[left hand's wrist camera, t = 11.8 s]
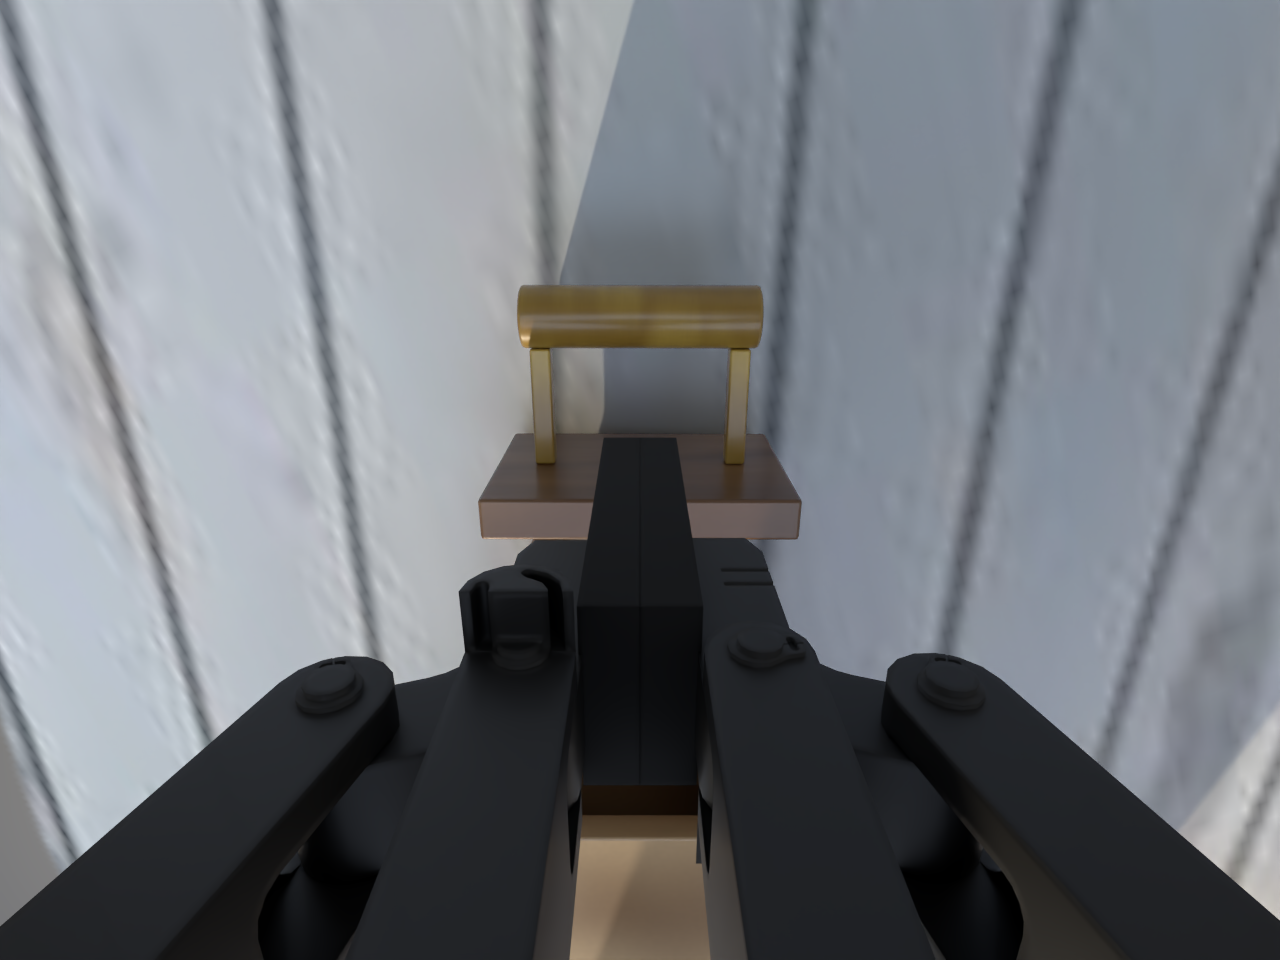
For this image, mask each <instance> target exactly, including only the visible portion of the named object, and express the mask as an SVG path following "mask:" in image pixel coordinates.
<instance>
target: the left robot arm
mask: <svg viewBox="0 0 1280 960" xmlns="http://www.w3.org/2000/svg"><path fill="white" fill-rule="evenodd" d="M459 599H460V608H461V617H462V627H463V636H464V645H465V654H464V656H463V659H462V661H461V664H460V667H458V668H456V669H454V670H451V671H449V672H447V673H444V674H441V675H437V676H433V677H430V678H426V679H421V680H416V681H411V682H406V683H401V684H397V685H395V684H394V678H393V672H392V671H391V670H390V669H389V668H388V667H387V666H386V665H385V664H384V663H383V662H381V661H378V660H375V659H372V658H369V657H355V656H344V657H337V658H334V659H332V658H331V659H327V660H323V661H320V662H317V663H315V664H312V665H310V666H307V667H305V668H302V669H300V670H298V671H296V672H295V673H293V674H292V675H290V676H289V677H287V678H286V679H284V680H283V681H281V682H280V683H279V684H278V685H276V686H275V687H274V688H273V689H272V690H271V691H270V692H268V693H267V694H266V695H265V696H264V697H263V698H262V699H260V700H259V701H258V702H257V703H256V704H255V705H253V706H252V707H251V708H250V709H249V710H248V711H247V712H245V713H244V714H243V715H242V716H241V717H240V718H239V719H237V720H236V721H235V722H234V723H233V724H232V725H231V726H229V727H228V728H227V729H226V730H225V731H224V732H223V733H221V734H220V735H219V736H218V737H217V738H216V739H215V740H213V741H212V742H211V743H210V744H209V745H208V746H207V747H205V748H204V749H203V750H202V751H201V752H200V753H198V754H197V755H196V756H195V757H194V758H193V759H192V760H190V761H189V762H188V763H187V764H186V765H185V766H184V767H182V768H181V769H180V770H179V771H178V772H177V773H176V774H174V775H173V776H172V777H171V778H170V779H169V780H168V781H166V782H165V783H164V784H163V785H162V786H161V787H160V788H158V789H157V790H156V791H155V792H154V793H153V794H152V795H150V796H149V797H148V798H147V799H146V800H145V801H143V802H142V803H141V804H140V805H139V806H138V807H137V808H135V809H134V810H133V811H132V812H131V813H130V814H129V815H127V816H126V817H125V818H124V819H123V820H122V821H121V822H119V823H118V824H117V825H116V826H115V827H114V828H113V829H111V830H110V831H109V832H108V833H107V834H106V835H105V836H103V837H102V838H101V839H100V840H99V841H98V842H97V843H95V844H94V845H93V846H92V847H91V848H90V849H88V850H87V851H86V852H85V853H84V854H83V855H82V856H80V857H79V858H78V859H77V860H76V861H75V862H74V863H72V864H71V865H70V866H69V867H68V868H67V869H66V870H64V871H63V872H62V873H61V874H60V875H59V876H58V877H56V878H55V879H54V880H53V881H52V882H51V883H50V884H48V885H47V886H46V887H45V888H44V889H43V890H42V891H40V892H39V893H38V894H37V895H36V896H35V897H34V898H32V899H31V900H30V901H29V902H28V903H27V904H26V905H24V906H23V907H22V908H21V909H20V910H19V911H17V912H16V913H15V914H14V915H13V916H12V917H11V918H9V919H8V920H7V921H6V922H5V923H4V924H3V925H1V926H0V960H570V949H571V938H572V927H573V916H574V905H575V894H576V883H577V872H578V861H579V850H580V839H581V828H582V797H581V784H582V775H583V785H697V771H698V781H699V797H698V822H697V847H696V864H702V871H703V882H704V893H705V904H706V915H707V926H708V937H709V948H710V959H711V960H1280V920H1278V919H1277V918H1276V917H1275V916H1274V915H1273V914H1272V913H1270V912H1269V911H1268V910H1267V909H1266V908H1265V907H1263V906H1262V905H1261V904H1260V903H1259V902H1258V901H1257V900H1255V899H1254V898H1253V897H1252V896H1251V895H1250V894H1248V893H1247V892H1246V891H1245V890H1244V889H1243V888H1242V887H1240V886H1239V885H1238V884H1237V883H1236V882H1235V881H1233V880H1232V879H1231V878H1230V877H1229V876H1228V875H1226V874H1225V873H1224V872H1223V871H1222V870H1221V869H1220V868H1218V867H1217V866H1216V865H1215V864H1214V863H1213V862H1211V861H1210V860H1209V859H1208V858H1207V857H1206V856H1205V855H1203V854H1202V853H1201V852H1200V851H1199V850H1198V849H1196V848H1195V847H1194V846H1193V845H1192V844H1191V843H1190V842H1188V841H1187V840H1186V839H1185V838H1184V837H1183V836H1181V835H1180V834H1179V833H1178V832H1177V831H1176V830H1174V829H1173V828H1172V827H1171V826H1170V825H1169V824H1168V823H1166V822H1165V821H1164V820H1163V819H1162V818H1161V817H1159V816H1158V815H1157V814H1156V813H1155V812H1154V811H1153V810H1151V809H1150V808H1149V807H1148V806H1147V805H1146V804H1144V803H1143V802H1142V801H1141V800H1140V799H1139V798H1138V797H1136V796H1135V795H1134V794H1133V793H1132V792H1131V791H1129V790H1128V789H1127V788H1126V787H1125V786H1124V785H1122V784H1121V783H1120V782H1119V781H1118V780H1117V779H1116V778H1114V777H1113V776H1112V775H1111V774H1110V773H1109V772H1107V771H1106V770H1105V769H1104V768H1103V767H1102V766H1101V765H1099V764H1098V763H1097V762H1096V761H1095V760H1094V759H1092V758H1091V757H1090V756H1089V755H1088V754H1087V753H1086V752H1084V751H1083V750H1082V749H1081V748H1080V747H1079V746H1077V745H1076V744H1075V743H1074V742H1073V741H1072V740H1071V739H1069V738H1068V737H1067V736H1066V735H1065V734H1064V733H1062V732H1061V731H1060V730H1059V729H1058V728H1057V727H1055V726H1054V725H1053V724H1052V723H1051V722H1050V721H1049V720H1047V719H1046V718H1045V717H1044V716H1043V715H1042V714H1040V713H1039V712H1038V711H1037V710H1036V709H1035V708H1034V707H1032V706H1031V705H1030V704H1029V703H1028V702H1027V701H1025V700H1024V699H1023V698H1022V697H1021V696H1020V695H1019V694H1017V693H1016V692H1015V691H1014V690H1013V689H1012V688H1010V687H1009V686H1008V685H1007V684H1006V683H1005V682H1003V681H1002V680H1001V679H1000V678H998V677H997V676H995V675H994V674H992V673H991V672H989V671H988V670H986V669H985V668H983V667H981V666H979V665H976V664H974V663H971V662H969V661H966V660H964V659H961V658H959V657H955V656H951V655H945V654H937V653H920V654H911V655H908V656H905V657H902V658H899V659H897V660H896V661H895V662H894V663H893V664H892V665H891V666H890V667H889V668H888V671H887V678H886V682H884V681H879V680H874V679H869V678H864V677H859V676H854V675H850V674H847V673H843V672H839V671H836V670H833V669H831V668H829V667H826V666H824V665H822V664H820V663H819V660H818V658H817V655H816V653H815V651H814V649H813V648H812V647H811V645H810V644H809V642H808V641H807V640H806V639H805V638H804V637H802V636H801V635H799V634H797V633H796V632H794V631H793V630H791V629H790V628H789V626H788V623H787V620H786V617H785V614H784V612H783V609H782V606H781V603H780V600H779V598H778V595H777V592H776V589H775V586H773V581H772V578H771V575H770V573H769V572H768V567H767V564H766V561H765V559H764V556H763V553H762V551H760V550H759V549H758V548H757V547H755V546H754V545H753V544H752V543H750V542H749V541H748V540H747V539H746V538H692V532H691V526H690V520H689V514H688V507H687V501H686V495H685V489H684V482H683V476H682V470H681V464H680V457H679V451H678V445H677V439H676V438H604V439H603V445H602V451H601V457H600V464H599V470H598V476H597V482H596V489H595V495H594V501H593V507H592V514H591V520H590V526H589V532H588V538H587V540H535V541H534V542H532V543H531V544H530V545H529V546H528V547H526V548H525V549H524V550H523V551H521V552H520V553H519V554H518V556H517V559H516V561H515V564H514V565H512V566H503V567H499V568H496V569H492V570H489V571H485V572H483V573H481V574H479V575H477V576H476V577H474V578H472V579H470V580H468V581H467V583H466V584H465V585H464V586H463V587H462V588H461V590H460V591H459Z"/></svg>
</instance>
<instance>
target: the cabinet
mask: <svg viewBox="0 0 1280 960" xmlns="http://www.w3.org/2000/svg"><path fill="white" fill-rule="evenodd" d="M697 822H698V815H582V828H581V839H580V850H579V861H578V872H577V883H576V894H575V905H574V916H573V927H572V938H571V949H570V960H711V959H710V948H709V937H708V926H707V915H706V904H705V893H704V882H703V871H702V864H696V847H697Z"/></svg>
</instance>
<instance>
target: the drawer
mask: <svg viewBox="0 0 1280 960" xmlns="http://www.w3.org/2000/svg"><path fill="white" fill-rule="evenodd" d="M517 321H518V332H519V337H520V341H521V344H522V346H523V347H525V348H531V349H530V368H531V386H532V404H533V422H534V434H516V435H515V436H514V438H513V440H512V442H511V444H510V445H509V447H508V449H507V451H506V452H505V454H504V456H503V458H502V460H501V461H500V463H499V465H498V467H497V469H496V470H495V472H494V474H493V476H492V477H491V479H490V481H489V483H488V485H487V486H486V488H485V490H484V492H483V493H482V495H481V497H480V499H479V501H478V505H479V516H480V527H481V536H482V538H483V539H533V540H532V542H534V541H535V540H587V538H588V532H589V526H590V520H591V514H592V507H593V501H594V495H595V489H596V482H597V476H598V470H599V464H600V457H601V451H602V445H603V439H604V438H676V439H677V445H678V451H679V457H680V464H681V470H682V476H683V482H684V489H685V495H686V501H687V507H688V514H689V520H690V526H691V532H692V538H746V539H797V538H798V536H799V526H800V516H801V505H802V502H801V499H800V498H799V496H798V494H797V492H796V490H795V489H794V487H793V485H792V483H791V481H790V480H789V478H788V476H787V474H786V473H785V471H784V469H783V467H782V465H781V464H780V462H779V460H778V458H777V456H776V455H775V453H774V451H773V449H772V447H771V446H770V444H769V442H768V440H767V439H766V437H765V435H763V434H746V425H747V408H748V391H749V374H750V357H751V351H750V349H749V348H757V347H758V345H759V343H760V340H761V335H762V328H763V295H762V291H761V288H760V287H759V286H757V285H523V286H521V287H520V289H519V293H518V300H517ZM552 348H728V364H727V385H726V407H725V428H724V434H556V424H555V402H554V379H553V356H552ZM581 797H582V815H698V797H699V781H698V771H697V785H583V775H582V784H581Z"/></svg>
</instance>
